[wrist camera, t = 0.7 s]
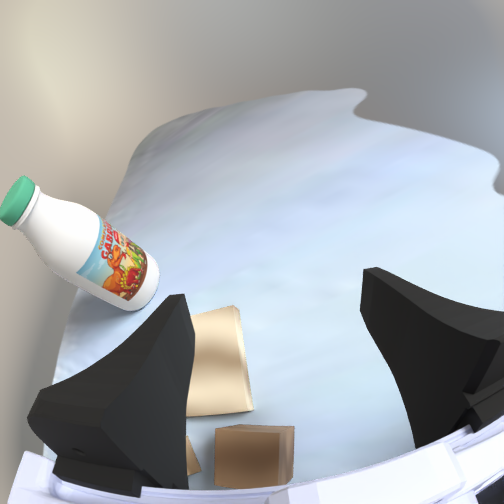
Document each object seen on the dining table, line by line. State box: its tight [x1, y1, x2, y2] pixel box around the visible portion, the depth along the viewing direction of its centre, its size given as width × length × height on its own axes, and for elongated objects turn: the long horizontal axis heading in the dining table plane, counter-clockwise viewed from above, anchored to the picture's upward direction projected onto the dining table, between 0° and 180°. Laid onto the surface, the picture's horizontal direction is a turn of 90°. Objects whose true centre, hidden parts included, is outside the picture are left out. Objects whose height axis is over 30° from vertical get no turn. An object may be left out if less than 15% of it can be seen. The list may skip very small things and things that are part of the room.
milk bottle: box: [0, 176, 160, 311], centre depth 27 cm, size 8×8×20 cm
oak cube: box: [186, 436, 202, 475], centre depth 22 cm, size 4×4×4 cm
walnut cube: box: [214, 424, 294, 489], centre depth 19 cm, size 5×5×5 cm
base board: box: [186, 305, 254, 417], centre depth 27 cm, size 10×10×2 cm
